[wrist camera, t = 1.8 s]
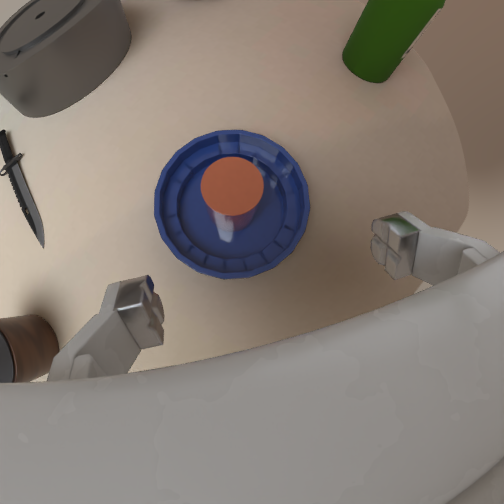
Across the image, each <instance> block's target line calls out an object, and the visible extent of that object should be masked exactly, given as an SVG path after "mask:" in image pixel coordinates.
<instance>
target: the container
mask: <svg viewBox="0 0 504 504" xmlns="http://www.w3.org/2000/svg"><path fill="white" fill-rule="evenodd" d="M130 43H131V31H130V28H129V25H128V22H127V19H126V16H125V13H124V10H123V7H122V4H121V1H120V0H31V1H29V2H28V3H26V4H25V5H24V6H23V7H21V8H20V9H19V10H18V11H17V12H16V13H15V14H14V15H12V16H11V17H10V18H9V19H8V20H7V21H6V22H5V24H4V25H3V26H2V27H1V28H0V94H1V95H2V96H3V97H4V98H5V99H7V100H8V101H9V102H10V103H11V104H12V105H13V106H14V107H15V108H16V109H17V110H18V111H19V112H20V113H22V114H23V115H25V116H27V117H32V118H38V117H44V116H48V115H51V114H54V113H57V112H59V111H61V110H63V109H65V108H67V107H69V106H71V105H73V104H74V103H76V102H77V101H79V100H81V99H82V98H83V97H85V96H86V95H88V94H89V93H90V92H92V91H93V90H94V89H95V88H97V87H98V86H99V85H100V84H101V83H102V82H103V81H104V80H105V79H107V78H108V77H109V75H110V74H111V73H112V72H113V71H114V70H115V69H116V68H117V66H118V65H119V64H120V63H121V61H122V60H123V58H124V57H125V55H126V53H127V51H128V49H129V46H130Z"/></svg>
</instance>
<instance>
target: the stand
mask: <svg viewBox="0 0 504 504" xmlns="http://www.w3.org/2000/svg"><path fill="white" fill-rule="evenodd" d="M58 353H59V346H58V342H57V338H56V336H55V333H54V331H53V330H52V328H51V326H50V325H49V324H48V323H47V322H46V321H45V320H44V319H43V318H41V317H39V316H37V315H25V316H17V317H9V318H1V319H0V383H24V382H30V381H32V380H34V379H37V378H39V377H41V376H43V375H45V374H47V373H49V371H50V368H51V365H52V362H53V358H54V357H55V356H56V355H57V354H58Z"/></svg>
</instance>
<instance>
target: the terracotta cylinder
mask: <svg viewBox="0 0 504 504" xmlns="http://www.w3.org/2000/svg"><path fill="white" fill-rule="evenodd" d="M263 190H264V182H263V178H262V175H261V173H260V171H259V170H258V169H257V167H256V166H255V165H254V164H252V163H251V162H249V161H248V160H245V159H243V158H239V157H226V158H222V159H219V160H217V161H215V162H214V163H212V164H211V165H210V166H209V167H208V168H207V169H206V171H205V172H204V174H203V177H202V180H201V193H202V197H203V200H204V203H205V206H206V210H207V213H208V216H209V218H210V220H211V222H212V223H213V224H214V225H215V226H216V227H217V228H219V229H221V230H223V231H228V232H236V231H239V230H242V229H244V228H246V227H247V226H248V225H249V224H250V223H251V222H252V220H253V218H254V216H255V214H256V211H257V208H258V205H259V203H260V200H261V197H262V194H263Z"/></svg>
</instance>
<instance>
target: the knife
mask: <svg viewBox="0 0 504 504" xmlns="http://www.w3.org/2000/svg"><path fill="white" fill-rule="evenodd" d="M5 132H6V131H5V130H2V131H0V148H1V151H2V155H3V158H4V161H5V163H6V165H4V166H3V168H2V170H1V171H0V175H1V176H4V175H5V174H6V173H8V174H9V178H10V182H12V183H11V184H12V186H13V190H15V191H14V192H15V194H17V195H16V197H17V198H18V202H20V207H22V211H23V213H24V215H25V217H26V219H27V221H28V223H29V225H30V227H31V228H32V230H33V232H34V234H35V235H36V237H37V239H38V241H39V242H40V244H41V246H42V247H43V248H44V232H43V226H42V222H41V219H40V216H39V213H38V211H37V209H36V206H35V204H34V202H33V200H32V197H31V195H30V193H29V191H28V188H27V186H26V184H25V181H24V179H23V176H22V174H21V171H20V169H19V166H18V163H17V162H18V161H19V160H20V159H21V157H22V156H23V155H22V154H21V153H19V154H18V155H16V156H15V157H14V158H13V155H12V153H11V150H10V147H9V144H8V141H7V137H6V133H5ZM19 155H21V156H20V157H19ZM3 170H6V172H5V173H4V174H1V172H2V171H3ZM26 208H27V210H28V212H29V213H28V215H27V213H26V211H25V209H26Z"/></svg>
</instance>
